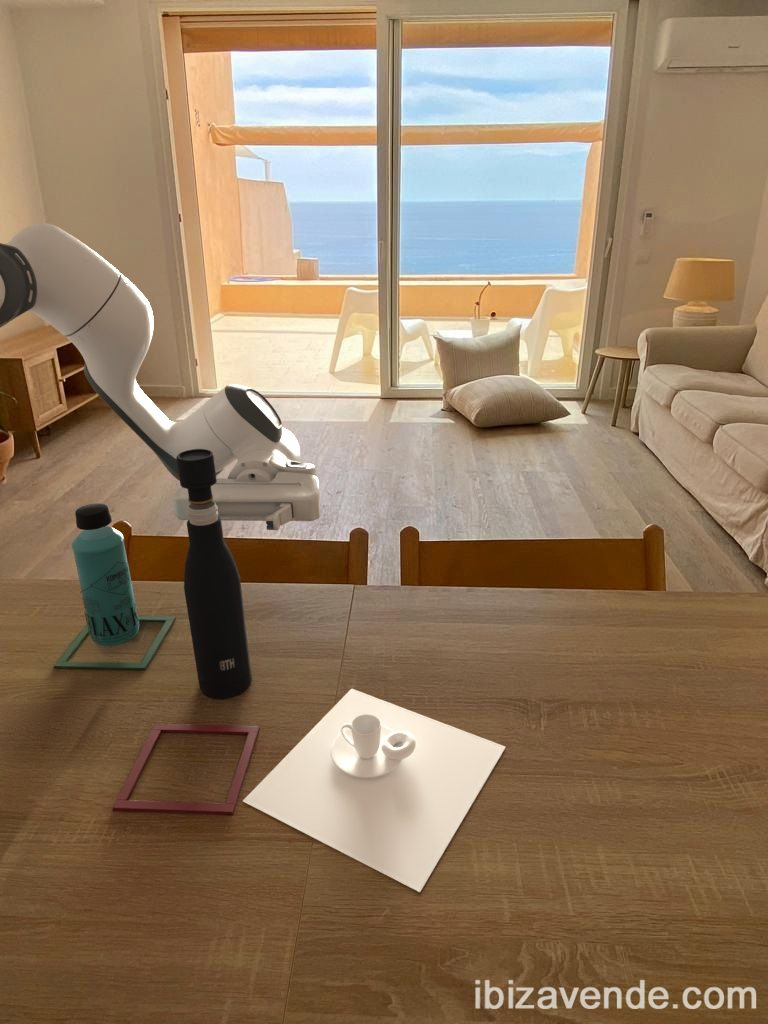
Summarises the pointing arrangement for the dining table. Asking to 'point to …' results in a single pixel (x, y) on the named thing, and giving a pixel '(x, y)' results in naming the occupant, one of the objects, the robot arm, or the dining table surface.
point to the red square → (188, 807)
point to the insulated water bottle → (212, 586)
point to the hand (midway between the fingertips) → (235, 524)
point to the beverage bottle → (104, 577)
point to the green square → (116, 666)
